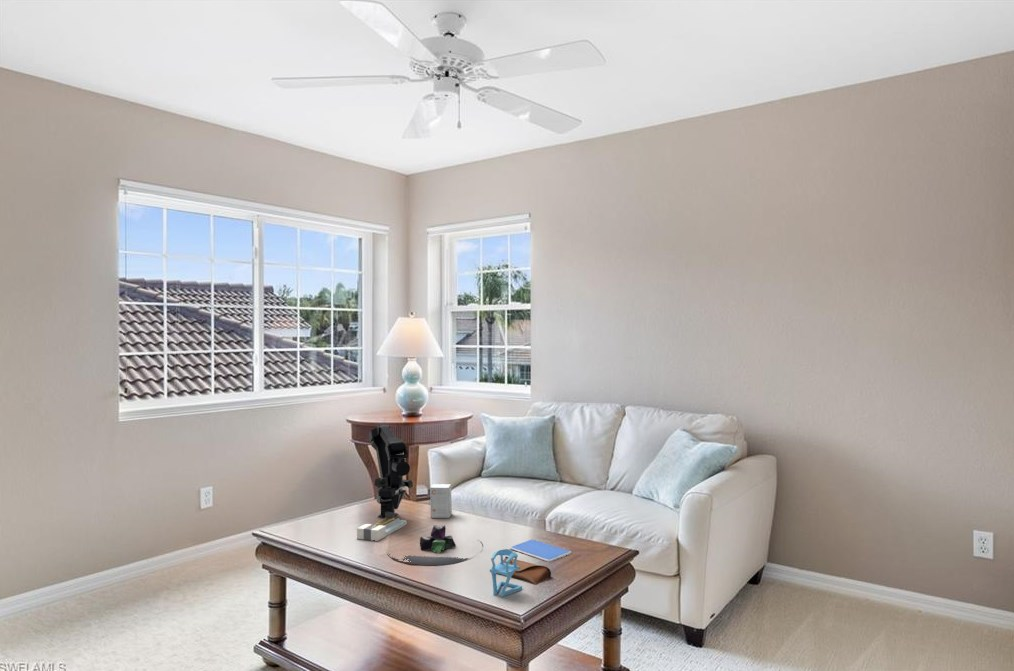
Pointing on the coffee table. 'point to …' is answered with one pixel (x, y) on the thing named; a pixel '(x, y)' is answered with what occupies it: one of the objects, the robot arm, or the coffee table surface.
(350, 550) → the coffee table surface
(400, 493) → the robot arm
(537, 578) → the sunglasses case
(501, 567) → the chair
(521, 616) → the coffee table surface
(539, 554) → the tablet computer
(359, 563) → the coffee table surface
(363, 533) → the door and jamb
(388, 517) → the bolt
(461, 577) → the coffee table surface
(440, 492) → the small box
